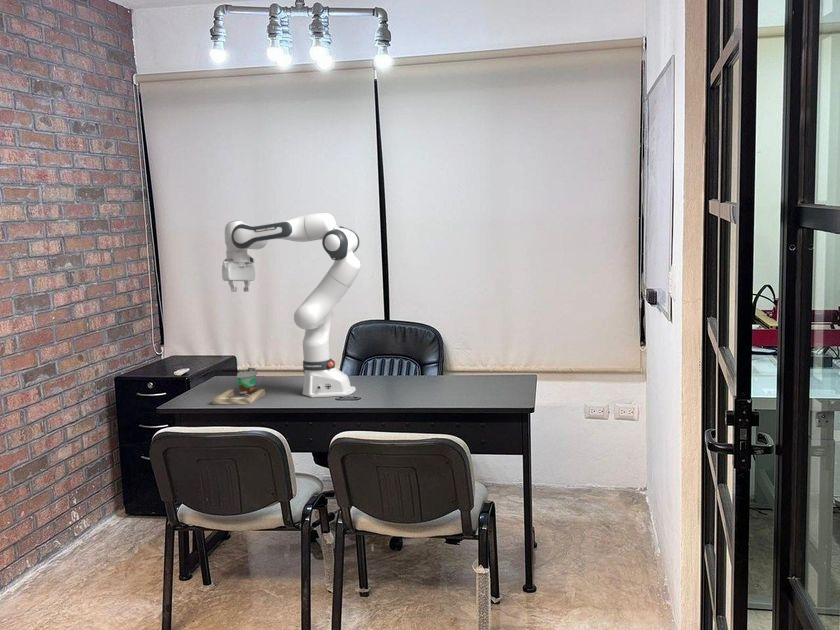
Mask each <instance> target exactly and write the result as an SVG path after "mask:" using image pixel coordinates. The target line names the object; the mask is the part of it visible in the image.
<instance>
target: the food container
mask: <svg viewBox="0 0 840 630" xmlns="http://www.w3.org/2000/svg"><path fill="white" fill-rule="evenodd" d="M257 375H258V370H257V369H256V368H255V367H247V369H246V370H244V371H242V372H236V378H237V383H238V389H239V396H246V395H245V394H250V395H251V394H252V393H255V392H256V391H257Z"/></svg>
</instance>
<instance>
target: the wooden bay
mask: <svg viewBox="0 0 840 630" xmlns="http://www.w3.org/2000/svg"><path fill="white" fill-rule="evenodd" d="M233 395H234V396H235V389H231V388H230V389H227V390H226V391H224V392H222V393H220V394H218V395H217V396H215V397H213V398H212V399H211V401H212V405H213V404H250V405H251V404H253V403H255V402H256V401H257V399H258V400H259V399H261V398H262V397H264V396H265V395H266V390H265V388H260V389H258V390H256V392H255V393H253V394H250V395H247V396H246V397H233ZM263 395H264V396H263ZM231 396H232V397H231ZM229 397H230V398H229ZM260 397H261V398H260ZM255 400H256V401H255ZM254 401H255V402H254ZM252 402H253V403H252Z"/></svg>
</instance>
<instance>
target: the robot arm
mask: <svg viewBox="0 0 840 630" xmlns="http://www.w3.org/2000/svg"><path fill="white" fill-rule="evenodd" d="M271 240H285V241H290V242H291V241H292V242H301V243H306V242H313V241H319V240H321V243H322V248H323V249H324V251H325V252H326V254H327V255H328V256H329V257H330V259H331V260H332V261H333V264H332V265H331V266H330V268H329V269H328V271H327V272H326V273H325V275H324V277H323V278H322V279H321V280H320V282H319V283H318V285H317V286H316V287H315V288H314V289H313V290H312V291H311V292H310V294H309V295H308V296H307V297H306V298H305V299H304V301H303V302H302V303H301V304H300V306H298V308H297V309H296V310H295V312H294V315H293V321H294V323H295V325H296V326H297V327H298V328H300V329H302V330H305V331H304V337H303V339H302V352H303V353H302V354H303V360H302V370H303V371H302V372H303V378H304V379H303V388H302V392H301V393H302V395H303V396H307V397H309V398H326V397H345V396H349V395H352V394H354V393H355V392H356V389H357V388H356V387H355V386H354V385H353V386H351V382H350V378H349V376H348V375H347V374H346V373H344V372H343V371H341V370H340V369H338V368H337V367H336V359H332V358H331V353H330V352H331V350H330V334H331V333H330V332H331V325H332V324H331V322H332V317H333V313H334V307H336V305H337V304H338V303H339V302H340V301H342V298H343V297H344V295H345V294H347V291H349V288H350V287H351V286H352V284H353V283H354V282H355V280H356V278H357V276H358V274H359V272H360V270H361V262H360V260H359V258H357V257H356V256H355V255H354V253H355V252H356V251H358V248H359V247H360V238H359V236H358V234H357V233H356V232H355V231H354V230H352V229H349V228H347V227H344V226H341V225H340V226H337V222H336V219H335V217H334V216H333V215H332V214H331V213H328V212H315V213H308V214H303V215H300V216H296V217H293V218H290V219H285V220H283V221H280V222H279V221H278V222H275V223H267V224H262V225H255V226H254V225H250V224H248V223H245V222H244V221H242V220H239V219H238V220H233V221H229V222H228V223H227V224H225V227H224V243H225V247H226V251H225V256H226V258H225V259H224V260H223V262H222V263H223V264H222V266H221V277H222V281H224V282H228V286H229V288H230V291H231V292H234V293H235V292H237V291H238V290H237V287H236V285H235V283H236V282H243V284H244V287H243V288H242V289H243V292H245V293H246V292H249V291H250V285H251V282H253V281H255V279H256V267H255V265H254V264H255V258H254V257H252V256H251V255H250V254H248V250H256V251H257V250H260V249H263V248H264V247H265V246H266V245H267V244H268V241H271Z"/></svg>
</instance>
